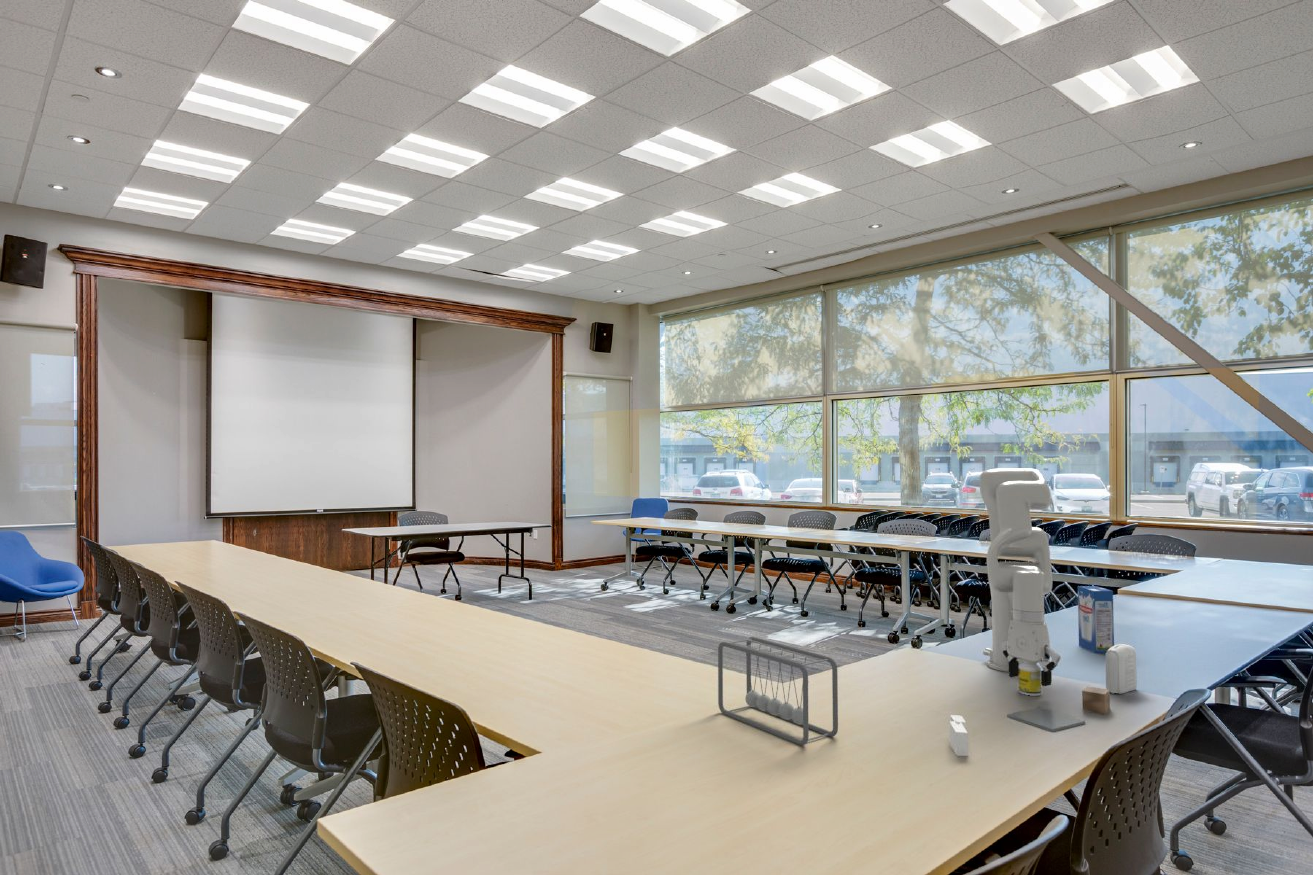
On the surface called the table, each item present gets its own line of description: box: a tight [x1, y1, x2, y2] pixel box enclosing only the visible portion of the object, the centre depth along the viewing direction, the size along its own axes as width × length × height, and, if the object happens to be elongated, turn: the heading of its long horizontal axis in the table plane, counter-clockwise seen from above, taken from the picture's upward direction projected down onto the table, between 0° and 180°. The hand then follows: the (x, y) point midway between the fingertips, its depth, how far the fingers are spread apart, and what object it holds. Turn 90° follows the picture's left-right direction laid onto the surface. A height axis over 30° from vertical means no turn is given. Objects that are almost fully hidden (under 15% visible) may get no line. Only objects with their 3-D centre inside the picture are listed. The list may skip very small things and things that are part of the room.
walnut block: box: [1081, 685, 1111, 716], centre depth 193 cm, size 5×5×5 cm
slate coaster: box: [1006, 706, 1086, 733], centre depth 185 cm, size 12×12×1 cm
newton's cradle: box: [717, 636, 839, 746], centre depth 183 cm, size 30×10×18 cm, turn 35°
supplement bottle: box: [1018, 659, 1042, 697], centre depth 207 cm, size 5×5×10 cm
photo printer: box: [1105, 643, 1138, 695], centre depth 210 cm, size 10×4×12 cm, turn 123°
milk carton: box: [1077, 585, 1115, 654], centre depth 256 cm, size 10×6×20 cm, turn 179°
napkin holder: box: [948, 714, 969, 757], centre depth 169 cm, size 15×11×6 cm
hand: (1029, 680), depth 207 cm, fingers open, 9 cm apart
